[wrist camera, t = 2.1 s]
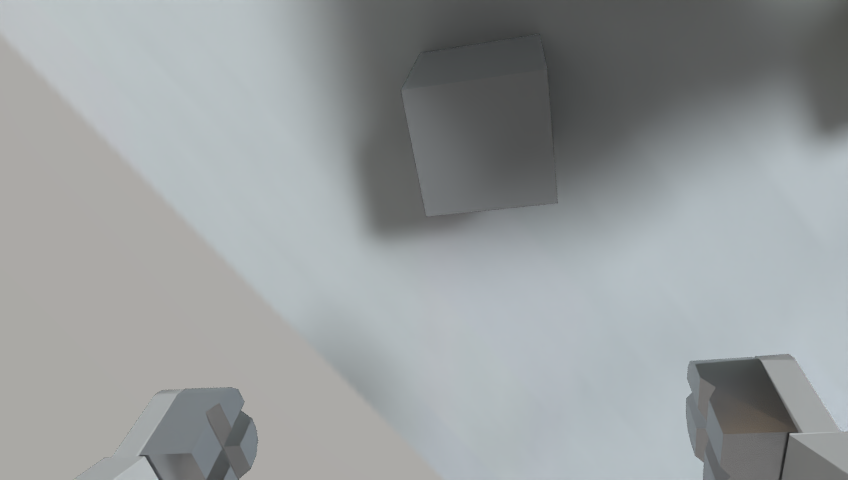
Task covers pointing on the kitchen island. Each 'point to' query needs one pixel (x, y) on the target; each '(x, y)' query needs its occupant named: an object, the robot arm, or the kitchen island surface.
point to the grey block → (482, 126)
